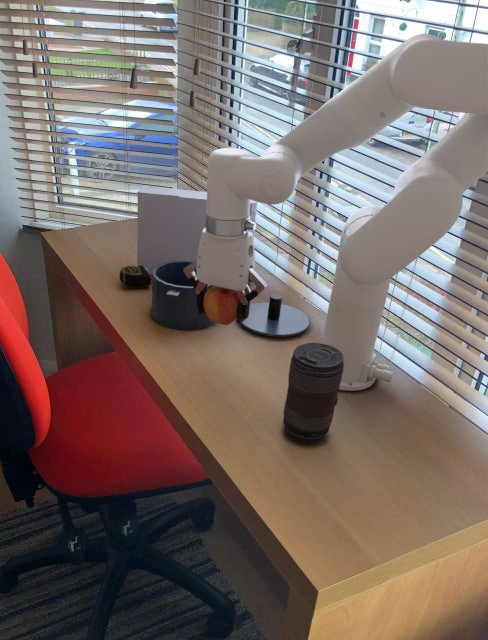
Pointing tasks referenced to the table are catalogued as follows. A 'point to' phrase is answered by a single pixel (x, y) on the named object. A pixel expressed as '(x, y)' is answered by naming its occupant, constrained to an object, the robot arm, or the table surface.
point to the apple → (221, 305)
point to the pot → (176, 298)
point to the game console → (171, 225)
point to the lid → (275, 318)
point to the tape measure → (134, 276)
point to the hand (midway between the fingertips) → (222, 315)
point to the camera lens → (312, 392)
